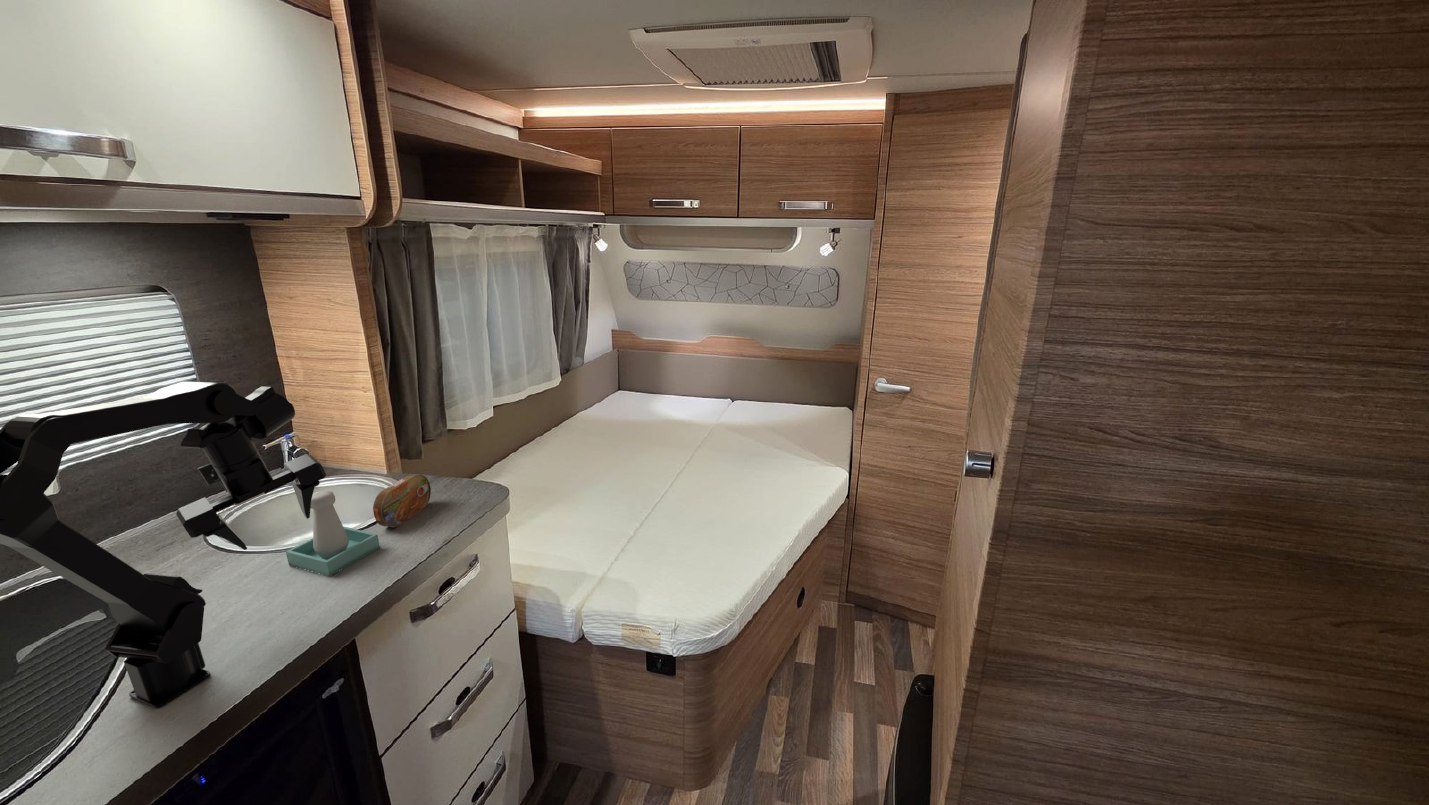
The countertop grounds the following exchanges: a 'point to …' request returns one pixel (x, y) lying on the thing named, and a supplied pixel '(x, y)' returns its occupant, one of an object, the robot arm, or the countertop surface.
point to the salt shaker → (327, 526)
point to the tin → (402, 500)
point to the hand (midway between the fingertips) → (277, 532)
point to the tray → (356, 549)
